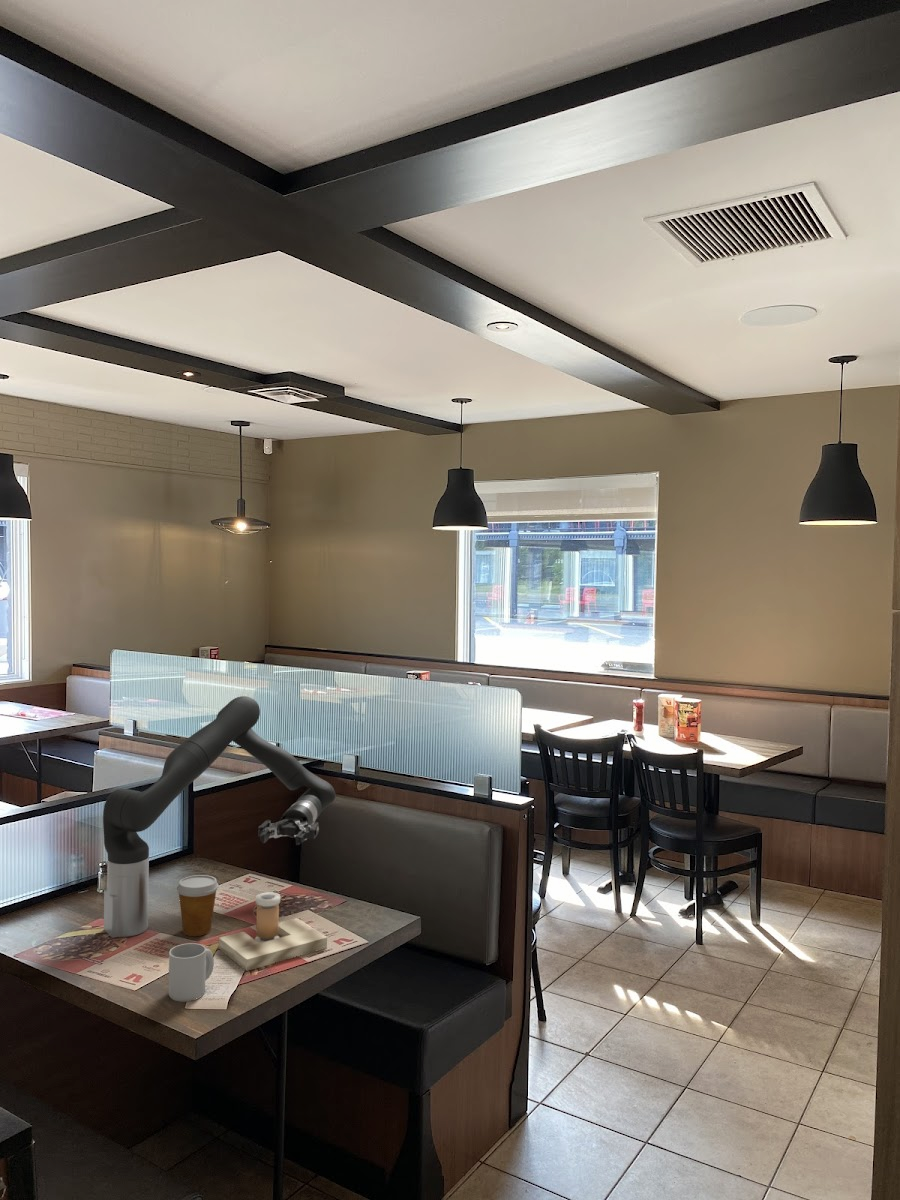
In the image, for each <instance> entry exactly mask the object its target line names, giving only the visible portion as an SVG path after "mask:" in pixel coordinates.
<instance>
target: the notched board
mask: <svg viewBox="0 0 900 1200" xmlns="http://www.w3.org/2000/svg"><path fill="white" fill-rule="evenodd" d="M278 936H279V937H280V938H277V939H273V940H269V941H266V942H262V943H258V942H257V941H256V940H255V938H253V937H252V936H250V935H249V934H248V933H246V932H244V931H240V932H235V933H231V934H227V935H224V936H220V937H218V949H219V950H220V951H221V952H222V953H224V954H225V955H226V956H227V957H229V958H230V959H231V960H233V961H234V962H235V963H236V964H238V966H240V967H241V968H242V967H243V968H242V969H244V970H245V971H247V972H248V971H251V970H255V969H259V968H262V967H266V966H268V965H273V964H276V963H279V961H280V962H283V961H286V959H287V960H290V959H293V957H294V958H297V957H300V955H301V956H304V955H307V953H308V954H311V953H314V951H315V952H317V951H322V950H325V949H327V948H328V936H326V935H324V934H323V933H321V932H320V931H318V930H317V929H315V928H313V927H312V926H310V925H308V924H307V923H306V922H304V921H302V920H301V919H299V918H298V917H295V918H290V919H287V920H283V921H279V929H278ZM321 949H322V950H321ZM316 950H317V951H316ZM310 952H311V953H310ZM303 954H304V955H303ZM296 956H297V957H296ZM275 962H276V963H275ZM272 963H273V964H272Z"/></svg>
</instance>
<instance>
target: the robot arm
mask: <svg viewBox="0 0 900 1200" xmlns="http://www.w3.org/2000/svg"><path fill="white" fill-rule="evenodd" d="M260 716H261V709H260V706H259V703H258V701H256V700H255V699H254V698H253V697H250V696H244V695H243V696H237V697H235V698H233V699H232V700H230V701H229V702H228V703H227V704H226V705H225V706H224V707H222V708H221V709H220V710H219V711H218V712H217V715H216V718H215V719H213V720H212V721H210V722H209V723H208V724H207V725H205V726H203V727H201V728H200V729H198V730H197V731H196V732H194V733H193V734H191V735H190V736H189V737H188V738H186V739H185V740H183V741H182V742H181V743H180V744H179V745H178V746H176V747H175V748H174V749H173V750H172V751H171V752H170V753H169V754H168V756H167V757H166V759H165V761H164V764H163V768H162V772H161V773H162V774H161V776H160V777H159V778H158V780H156V781H155V782H154V783H153V784H152V785H151V786H150V787H148V788H146V789H145V790H143V791H139V790H134V789H129V788H117V789H114V791H112V792H110V793H109V795H108V796H107V798H106V800H105V802H104V806H103V813H102V821H103V822H102V824H103V844H104V849H105V851H106V854H107V867H106V868H107V871H106V872H107V873H106V874H107V875H106V876H107V877H106V879H107V880H106V883H107V885H106V889H104V891H103V930H104V931H105V932H106V933H107V935H108V936H109V937H110V938H113V939H114V938H126V937H134V936H137V935H140V934H143V933H144V932H146V931H147V929H148V928H149V882H150V881H149V877H150V876H149V871H150V870H149V869H150V867H149V866H150V865H149V864H150V863H149V862H150V847H149V844H148V843H147V842H146V841H145V840H144V839H143V838H141V836H140V835H139V834H138V833H140V832H143V831H145V830H147V829H148V828H150V827H151V826H152V825H153V824H154V823H155V822H156V820H158V819H159V817H161V815H162V814H163V813H164V812H165V810H167V808H168V807H169V806H170V805H171V804H172V802H173V801H174V800H175V799H176V798H177V797H178V796H179V795H180V794H182V792H183V791H184V790H185V789H187V787H188V786H190V784H192V783H193V782H194V781H195V780H196V779H198V778H199V777H200V776H201V775H202V774H203V773H204V772H205V771H207V769H208V768H210V766H211V765H212V764H213V763H214V762H215V761H216V760H217V759H218V758H219V756H221V755H222V754H223V752H224V751H225V750H226V749H227V747H228V746H229V745H230V744H231V743H232V742H233V743H235V744H236V745H238V746H239V747H240V748H241V749H242V750H244V751H246V752H247V753H248V754H250V756H253V758H255V759H256V760H258V762H261V764H262V765H264V766H265V767H266V768H267V769H268V770H269V771H270V772H271V773H273V775H274V776H275V777H277V779H278V780H279V781H280V782H282V784H283V785H284V786H285V787H286V788H287V789H288V790H290V791H295V790H298V789H299V788H301V787H308V789H307V790H306V791H305V792H304V793H303V794H301V795H300V797H298V799H297V800H296V802H294V803H293V804H291V806H290V807H289V808H288V809H287V810H286V811H285V812H284V813H283V815H282V816H281V818H280V820H279V821H276V822H273V823H271V820H270V819H267V820H265V821H264V822H263V823H262V824H261V825H259V826H258V830H257V831H258V837H259V839H260V842H261V844H265V843H267V842H268V840H269V839H271V838H274V839H278V838H280V837H289V838H293V839H295V845H296V846H300V844H303V843H304V841H307V840H308V839H309V840H311V841H313V840H315V839H316V837H317V836H318V834H319V832H320V827H319V826H320V825H319V822H317V821H316V820H317V819H318V818H319V816H320V815H321V813H322V812H323V811H324V810H325V809H326V808H327V807H328V806H329V805H331V804H332V803H333V802H334V801H335V799H336V796H337V795H336V791H335V790H336V789H334V787H333V785H332V784H331V783H329V782H328V781H326V780H324V779H323V778H321V777H319V776H318V775H316V774H314V773H313V772H311V771H309V770H308V769H307V768H306V767H304V766H303V764H301V762H300V761H299V760H298V759H297V758H296V757H294V755H293V754H292V753H290V752H289V751H287V750H286V749H283V748H282V747H279V746H277V745H275V744H272V743H271V742H269V741H267V740H265V739H263V738H262V737H260V736H259V734H258V733H256V732H255V731H254V730H253V727H254V726H255V725H257V723H258V722H259V721H258V720H259V719H260Z"/></svg>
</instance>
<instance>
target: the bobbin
mask: <svg viewBox="0 0 900 1200" xmlns="http://www.w3.org/2000/svg"><path fill="white" fill-rule="evenodd" d="M280 903H281V894H279V893H277V892H273V891H271V892H267V891H266V892H261V893H258V894H257V895H256V896H255V904H256V931H255V934H256V937H255V938H254V940H256V941H257V942H258V943H262V942H266V941H269V940H273V939H277V938H280V937H279V936H278V929H279V922H280V921H279V915H280V906H279V904H280Z"/></svg>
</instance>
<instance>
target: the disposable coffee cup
mask: <svg viewBox="0 0 900 1200" xmlns="http://www.w3.org/2000/svg"><path fill="white" fill-rule="evenodd" d="M218 888H219V883H218V881H217V878H216V877H214V876H212V875H208V874H195V875H190V876H186V877H183V878H181V879H180V880H179V881H178V884H177V886H176V891H177V893H178V897H179V905H180V914H181V922H182V923H181V924H182V933H183V934H184V935H186V936H189V937H200V936H204V935H206V934H209V933H210V932H211V931H212V923H213V917H214V909H215V901H216V897H217V896H216V895H217V894H216V893H217V890H218Z"/></svg>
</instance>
